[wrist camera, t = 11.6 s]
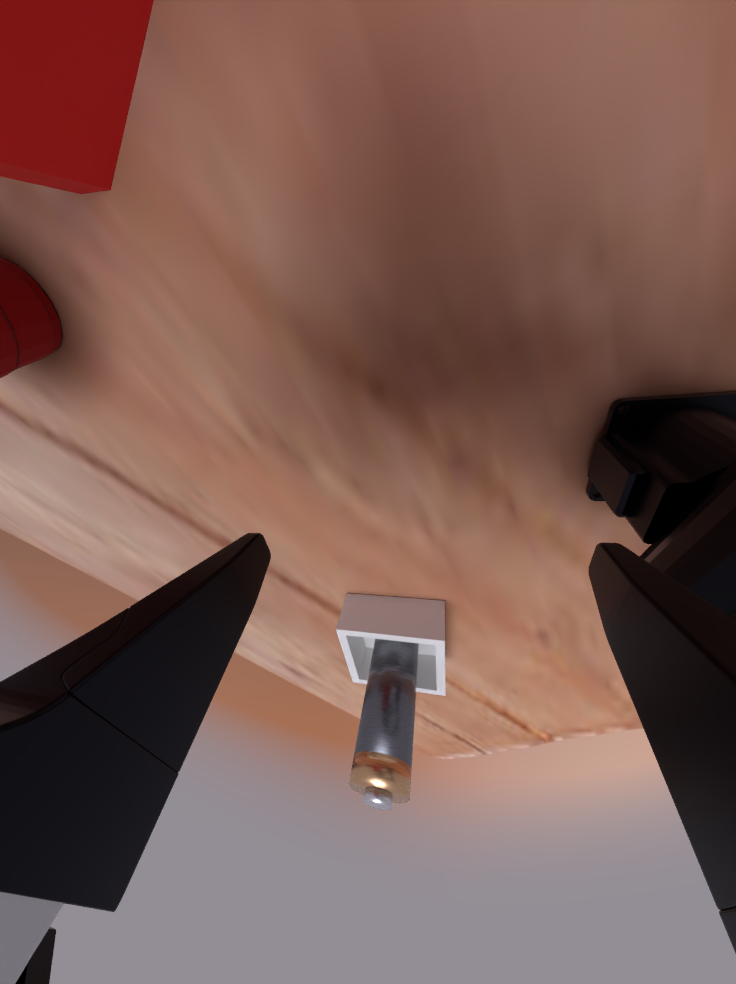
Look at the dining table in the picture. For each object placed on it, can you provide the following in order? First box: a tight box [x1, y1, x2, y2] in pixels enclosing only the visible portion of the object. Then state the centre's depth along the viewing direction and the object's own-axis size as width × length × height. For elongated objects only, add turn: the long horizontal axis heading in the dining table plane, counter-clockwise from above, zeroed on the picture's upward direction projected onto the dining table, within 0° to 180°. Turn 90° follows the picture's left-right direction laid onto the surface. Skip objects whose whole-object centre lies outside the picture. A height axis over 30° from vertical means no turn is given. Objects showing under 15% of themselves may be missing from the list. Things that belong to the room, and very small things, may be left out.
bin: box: [336, 593, 445, 696], centre depth 31 cm, size 10×10×4 cm
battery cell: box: [349, 639, 419, 810], centre depth 27 cm, size 4×4×13 cm
